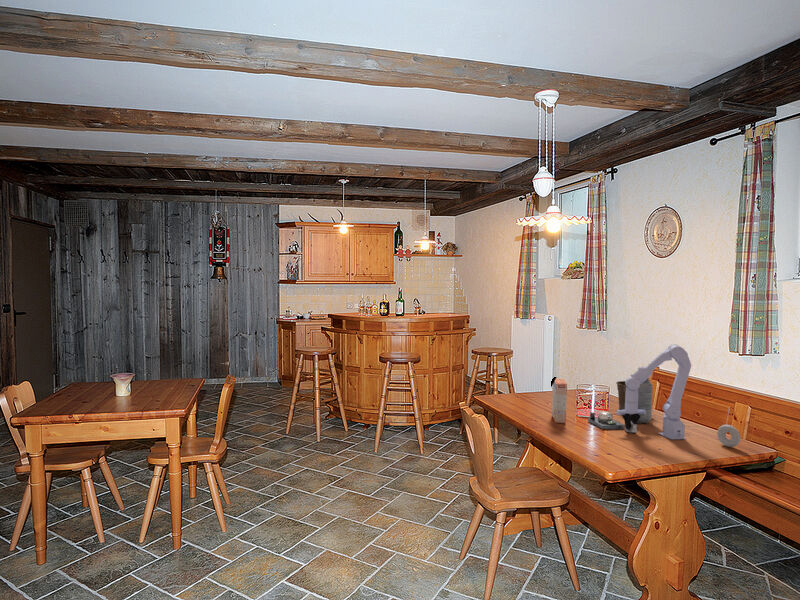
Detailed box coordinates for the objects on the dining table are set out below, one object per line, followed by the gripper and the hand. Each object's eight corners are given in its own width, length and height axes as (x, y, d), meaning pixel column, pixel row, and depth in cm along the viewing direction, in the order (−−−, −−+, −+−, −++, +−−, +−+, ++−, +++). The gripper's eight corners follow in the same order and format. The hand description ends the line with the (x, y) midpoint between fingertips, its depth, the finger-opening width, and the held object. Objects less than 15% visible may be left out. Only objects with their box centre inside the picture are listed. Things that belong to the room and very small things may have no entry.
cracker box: (566, 423, 261) (567, 384, 260) (554, 423, 262) (555, 383, 262) (563, 416, 275) (564, 378, 274) (551, 416, 276) (552, 378, 275)
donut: (741, 449, 225) (742, 427, 224) (736, 450, 223) (737, 428, 223) (719, 442, 234) (720, 421, 233) (714, 443, 232) (715, 422, 232)
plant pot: (620, 406, 300) (620, 379, 299) (649, 411, 290) (650, 383, 289) (611, 411, 287) (612, 383, 287) (642, 416, 277) (643, 387, 277)
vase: (646, 418, 273) (647, 377, 272) (655, 425, 261) (656, 381, 260) (624, 418, 274) (625, 376, 273) (631, 424, 263) (633, 380, 262)
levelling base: (624, 428, 254) (625, 417, 253) (602, 429, 252) (602, 417, 252) (609, 421, 267) (609, 410, 267) (588, 421, 266) (588, 410, 265)
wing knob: (639, 433, 246) (639, 423, 245) (630, 433, 245) (630, 423, 245) (630, 429, 253) (631, 419, 252) (621, 429, 252) (622, 419, 252)
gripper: (640, 399, 253) (639, 426, 254) (613, 399, 251) (612, 426, 251) (648, 402, 246) (647, 430, 247) (621, 403, 244) (620, 431, 245)
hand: (630, 428), depth 249 cm, fingers closed on wing knob, 2 cm apart
